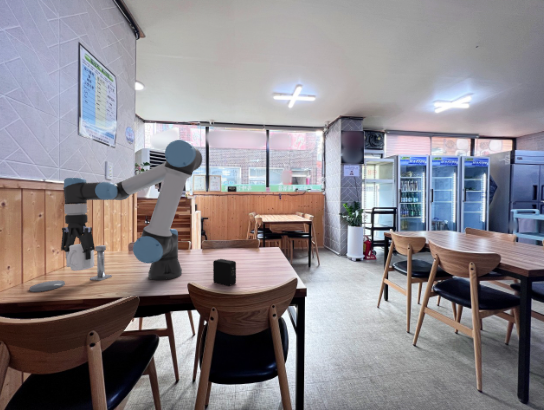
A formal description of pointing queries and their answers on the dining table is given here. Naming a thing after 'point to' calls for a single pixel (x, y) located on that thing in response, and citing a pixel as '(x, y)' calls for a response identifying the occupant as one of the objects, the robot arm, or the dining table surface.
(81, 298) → the dining table surface
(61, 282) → the disc
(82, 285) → the dining table surface
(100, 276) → the post
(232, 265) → the electronic device
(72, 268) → the mug
